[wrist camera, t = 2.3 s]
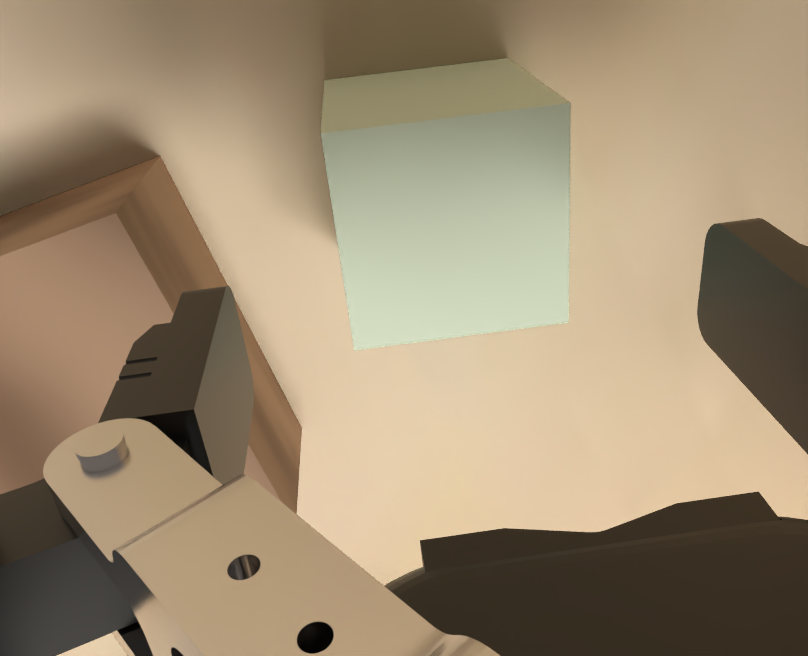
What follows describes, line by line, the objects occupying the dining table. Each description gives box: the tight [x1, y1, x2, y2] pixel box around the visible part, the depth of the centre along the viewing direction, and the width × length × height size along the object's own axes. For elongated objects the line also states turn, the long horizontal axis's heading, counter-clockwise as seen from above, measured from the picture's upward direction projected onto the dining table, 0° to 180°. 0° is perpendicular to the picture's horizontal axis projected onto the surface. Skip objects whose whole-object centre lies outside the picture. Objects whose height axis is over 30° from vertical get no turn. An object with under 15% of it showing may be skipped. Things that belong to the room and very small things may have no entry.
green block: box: [321, 58, 570, 351], centre depth 18 cm, size 5×5×6 cm
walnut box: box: [0, 156, 302, 514], centre depth 21 cm, size 10×10×5 cm
